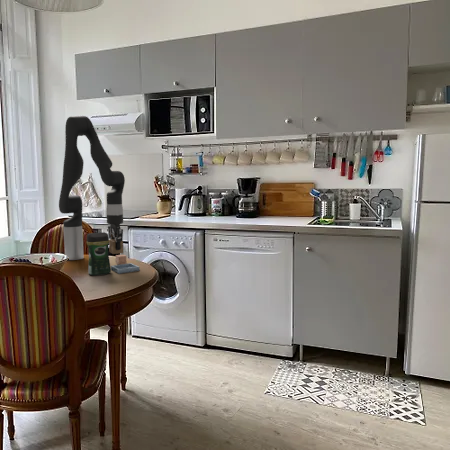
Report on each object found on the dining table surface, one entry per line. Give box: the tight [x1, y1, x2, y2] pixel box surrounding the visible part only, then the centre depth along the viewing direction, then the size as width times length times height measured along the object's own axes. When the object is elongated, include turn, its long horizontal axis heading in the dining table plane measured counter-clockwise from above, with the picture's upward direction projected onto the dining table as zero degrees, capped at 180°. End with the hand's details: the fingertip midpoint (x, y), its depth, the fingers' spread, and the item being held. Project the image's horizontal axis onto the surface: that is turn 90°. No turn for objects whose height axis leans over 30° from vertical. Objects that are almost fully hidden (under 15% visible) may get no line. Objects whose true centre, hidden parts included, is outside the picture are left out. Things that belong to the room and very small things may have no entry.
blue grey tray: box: [110, 262, 141, 275], centre depth 199 cm, size 10×10×2 cm
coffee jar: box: [86, 231, 112, 276], centre depth 191 cm, size 10×8×19 cm
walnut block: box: [108, 238, 124, 255], centre depth 205 cm, size 5×5×6 cm
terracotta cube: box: [115, 254, 128, 265], centre depth 214 cm, size 4×4×4 cm
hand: (115, 248), depth 205 cm, fingers closed on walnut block, 5 cm apart
